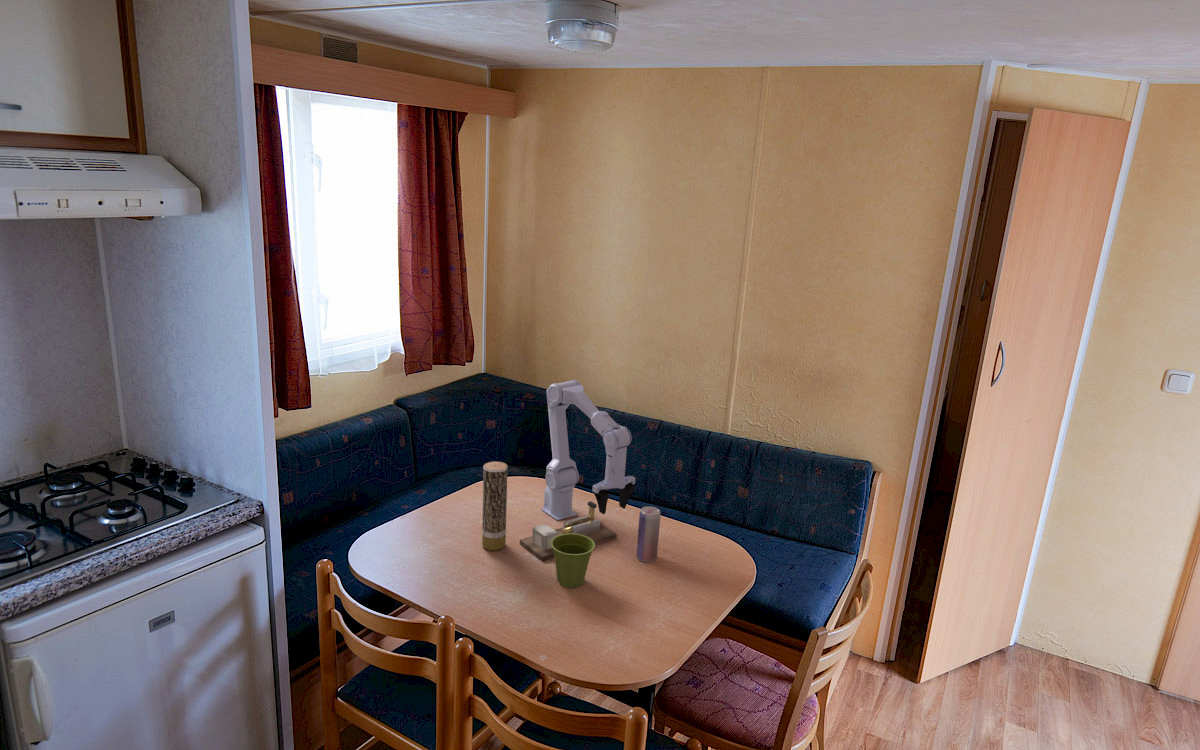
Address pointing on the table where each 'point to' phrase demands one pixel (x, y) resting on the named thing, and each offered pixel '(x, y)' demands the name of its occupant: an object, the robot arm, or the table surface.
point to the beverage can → (648, 534)
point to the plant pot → (572, 558)
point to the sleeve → (583, 526)
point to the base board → (548, 554)
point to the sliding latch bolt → (591, 516)
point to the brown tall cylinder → (494, 505)
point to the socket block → (543, 536)
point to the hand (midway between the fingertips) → (612, 510)
